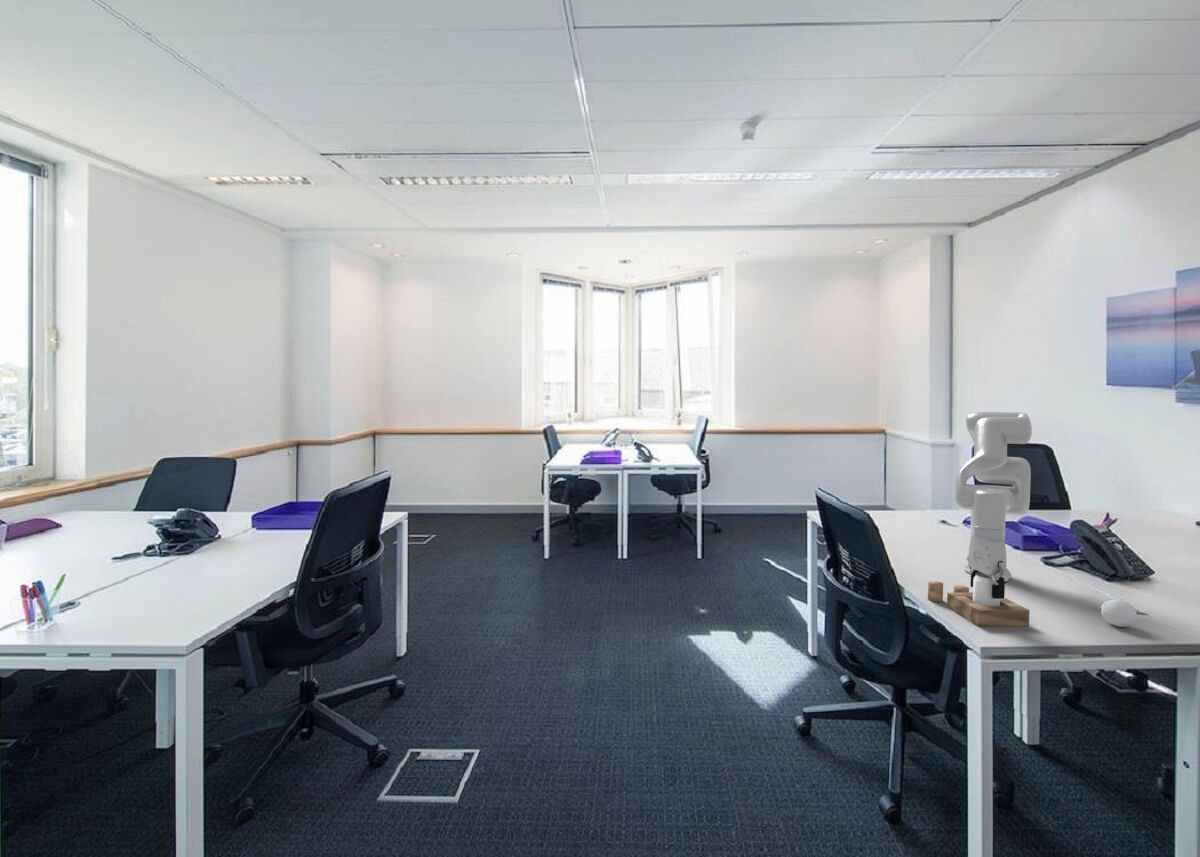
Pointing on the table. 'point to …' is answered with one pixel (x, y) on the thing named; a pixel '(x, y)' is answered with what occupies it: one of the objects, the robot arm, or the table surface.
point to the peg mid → (935, 591)
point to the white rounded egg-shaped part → (1118, 612)
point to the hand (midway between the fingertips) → (986, 592)
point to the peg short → (961, 589)
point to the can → (984, 590)
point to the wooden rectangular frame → (988, 611)
